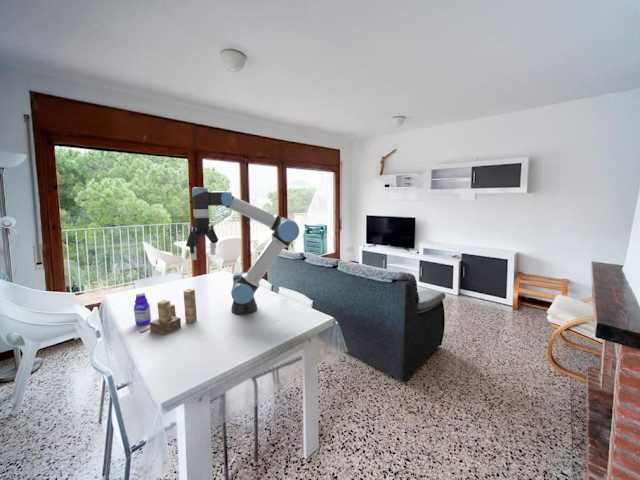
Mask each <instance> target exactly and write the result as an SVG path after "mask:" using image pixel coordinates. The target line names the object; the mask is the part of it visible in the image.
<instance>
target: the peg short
mask: <svg viewBox="0 0 640 480" xmlns="http://www.w3.org/2000/svg"><path fill="white" fill-rule="evenodd" d="M170 309H171V316H173V317H177V314H176V305H175V304H171V303H170Z"/></svg>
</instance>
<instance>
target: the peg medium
mask: <svg viewBox="0 0 640 480" xmlns="http://www.w3.org/2000/svg"><path fill="white" fill-rule="evenodd" d="M170 304H171V301H170V300H166V299H163V300H161V301H158V302H157V312H158V319H159V322H162V323H166V322H168V321H170V320H171V309H170Z"/></svg>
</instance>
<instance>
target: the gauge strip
mask: <svg viewBox="0 0 640 480" xmlns="http://www.w3.org/2000/svg"><path fill="white" fill-rule="evenodd" d="M149 330H150V326H149V327H148V328H147V327H146V328H144V329H143V330H141V331H139V333H141V334H143V333H145V332H147V331H149Z"/></svg>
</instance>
